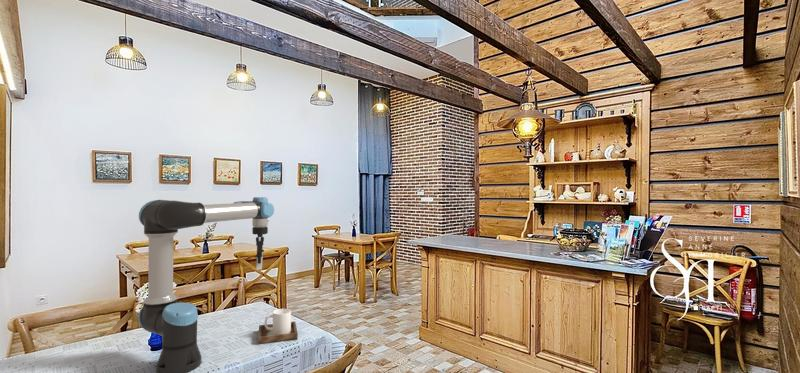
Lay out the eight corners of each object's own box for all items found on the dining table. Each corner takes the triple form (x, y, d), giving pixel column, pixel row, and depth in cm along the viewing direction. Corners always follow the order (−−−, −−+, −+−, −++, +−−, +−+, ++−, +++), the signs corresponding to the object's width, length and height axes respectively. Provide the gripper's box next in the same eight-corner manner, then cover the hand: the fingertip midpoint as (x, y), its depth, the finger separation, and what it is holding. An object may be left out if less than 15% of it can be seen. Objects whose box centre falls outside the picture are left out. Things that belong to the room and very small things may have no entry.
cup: (290, 335, 172) (290, 313, 173) (263, 337, 169) (263, 315, 169) (290, 328, 180) (291, 308, 181) (265, 330, 177) (265, 309, 177)
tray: (258, 344, 164) (258, 337, 164) (259, 331, 179) (259, 325, 179) (297, 339, 170) (297, 333, 170) (295, 327, 185) (295, 321, 185)
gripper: (267, 228, 182) (267, 271, 182) (267, 224, 206) (267, 262, 206) (251, 229, 180) (250, 272, 180) (253, 224, 203) (252, 262, 203)
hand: (259, 266), depth 193 cm, fingers open, 13 cm apart
